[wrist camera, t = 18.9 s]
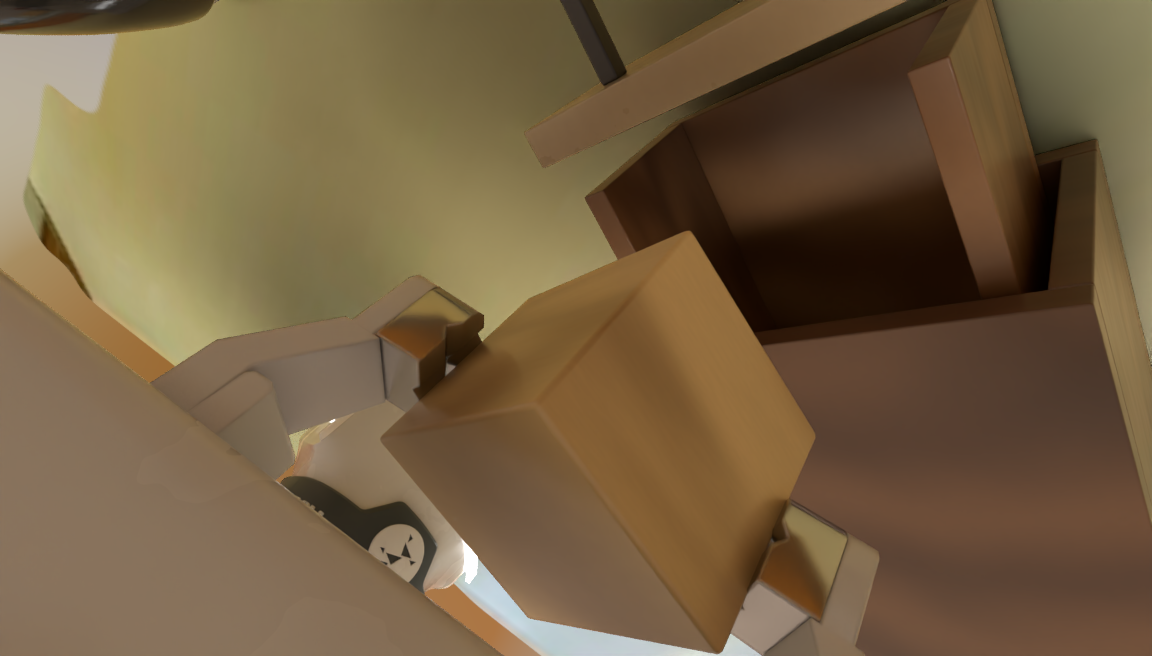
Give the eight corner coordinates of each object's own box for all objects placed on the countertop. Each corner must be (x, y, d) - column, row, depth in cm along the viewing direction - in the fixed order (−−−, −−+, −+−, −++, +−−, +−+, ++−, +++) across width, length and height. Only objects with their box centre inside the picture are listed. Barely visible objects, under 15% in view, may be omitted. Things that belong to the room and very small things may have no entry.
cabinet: (715, 240, 27) (615, 364, 21) (1097, 137, 18) (1093, 303, 13) (843, 509, 32) (789, 664, 27) (1190, 531, 23) (1216, 769, 18)
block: (640, 454, 15) (527, 620, 12) (528, 296, 13) (375, 439, 11) (818, 435, 11) (722, 658, 8) (691, 227, 10) (533, 404, 7)
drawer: (556, -93, 22) (417, -55, 17) (924, -413, 14) (839, -492, 9) (781, 377, 28) (722, 490, 24) (1118, 348, 20) (1121, 510, 16)
